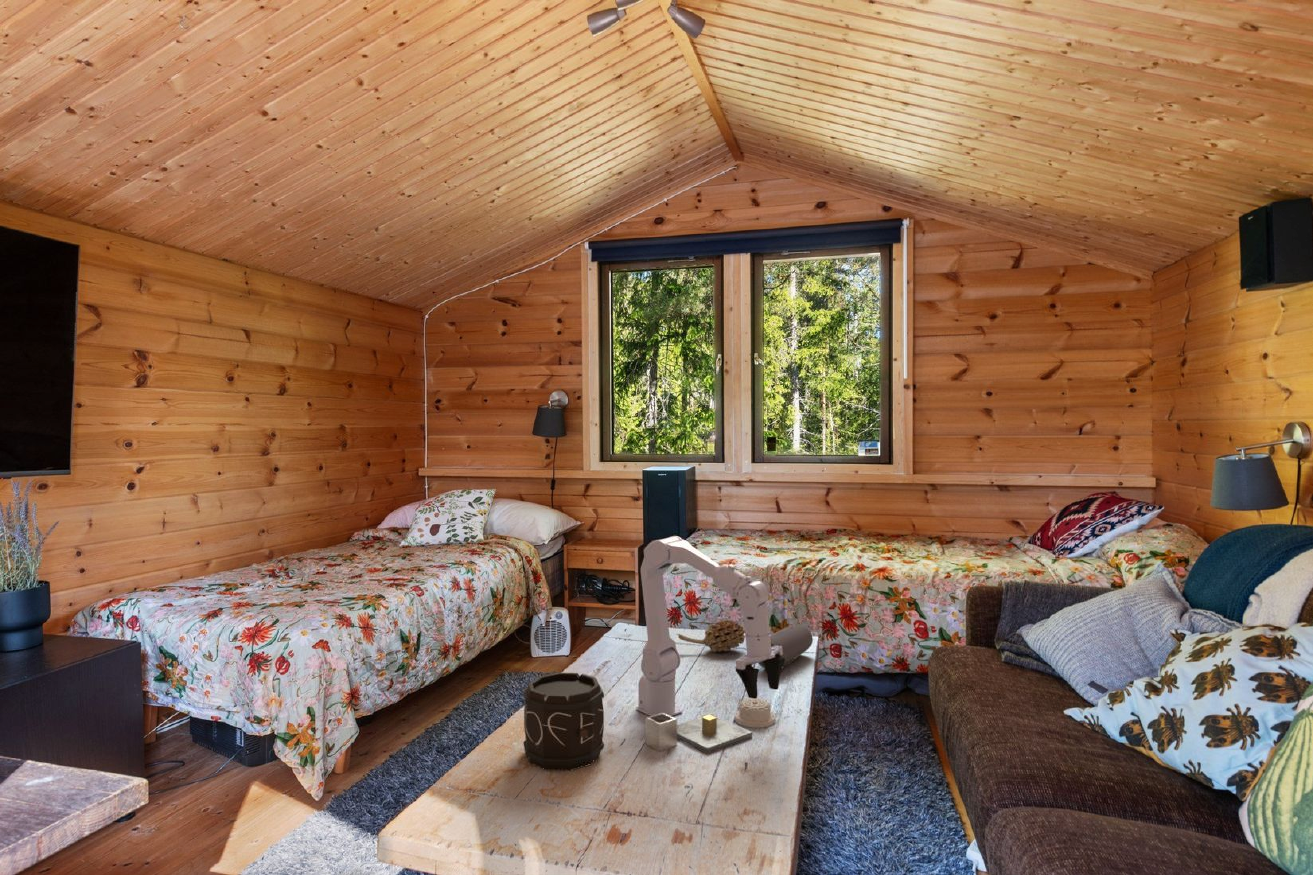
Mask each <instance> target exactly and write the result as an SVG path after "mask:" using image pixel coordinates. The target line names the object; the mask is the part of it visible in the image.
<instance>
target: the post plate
mask: <svg viewBox="0 0 1313 875" xmlns="http://www.w3.org/2000/svg"><path fill="white" fill-rule="evenodd" d="M751 738H753V732H752V731H750V730H748V729H746V728H744V727H742V726H740V725H737V724H735V723H733V722H730V721H728V720H726V719H723V718H722V717H719V716H718V715H717V716H716V715H714V714H712V713H710V714H706V715H704V716H701V717H698V718H694V719H690V720H688V721H685V722H683V723H679V724H677V740H679V741H682V742H683V743H686V745H687V744H688V745H689V746H691V747H693V748H695V749H697V750H699V751H701V752H703V753H705V754H710V753H713V752H716V751H718V750H721V749H724V748H726V747H730V746H732V745H734V744H737V743H741V742H743V741H745V740H749V739H751Z"/></svg>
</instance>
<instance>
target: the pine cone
mask: <svg viewBox="0 0 1313 875" xmlns="http://www.w3.org/2000/svg"><path fill="white" fill-rule="evenodd" d="M676 635H677V637H678V639H680V641H684V642H687V643H693V644H698V645H705V646H706V647H708V648H709V650H710V651H711V652H712V653H716V652H718V653H721V652H722V651H723V652H727V651H729V652H730V651H731V650H732V649H735V648H738V647H740V645H742V644H744V642H745V640H746V639H745V629H744V626H742V624H739V622H738V621H736V622H734V621H733V620H728V619H724V620H722V619H720V620H719V621H716V623H715V624H711V625H709V626H708V628H707V629H705V631H704V635H705V636H704V638H703V639H697V638H691V637H688V636H685V635H683V634H680V633H677V634H676Z"/></svg>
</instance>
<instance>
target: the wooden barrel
mask: <svg viewBox="0 0 1313 875" xmlns="http://www.w3.org/2000/svg"><path fill="white" fill-rule="evenodd" d="M522 696H523V700H524V709H523V719H524V720H523V727H524V729H523V730H524V735H525V740H524V741H523V748H524V753H525V757H526V758H528V759H529V763H530V764H531V763H532V764H531V765H533V764H535V765H534V766H536V765H537V766H536V767H538V766H539V767H538V768H540V769H543V768H544V769H543V770H545V769H546V771H565V770H569V771H572V770H571V769H573V768H577V769H579V768H578V767H580V768H582V767H581V766H584V767H586V766H585V765H588V764H590V765H591V764H592V763H593V762H594V761H595V760H597V759H598V758H599V757H600V756H599V755H600V754H601V752H602V750H603V749H604V747H605V742H604V741H603V739H604V729H605V726H604V725H605V723H604V722H605V721H604V720H605V715H604V714H605V713H604V703H603V698H604V697H605V693H604V690H603V689H602V687H601V684H599V681H598V679H597V677H595V676H591V675H588V674H585V673H582V674H579V673H578V672H555V673H550V674H545V675H540V676H538V677H537V678H535V679H533V680H532V681H531V680H530V682H528V684H527V688H525V689H524V690H523V693H522ZM598 756H599V757H598ZM597 757H598V758H597ZM596 758H597V759H596ZM593 760H594V761H593ZM588 766H589V765H588ZM573 770H574V769H573Z"/></svg>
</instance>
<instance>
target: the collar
mask: <svg viewBox="0 0 1313 875" xmlns="http://www.w3.org/2000/svg"><path fill="white" fill-rule="evenodd" d="M677 725H678V718H676V717H673V716H669V715H667V714H665V713H659V714H656V715H653V716H647V717H645V745H646V746H649V747H650V748H652V749H654V750H656V751H658V752H662V751H664V750H668V749H670V748H674V747H676V746H677V745H678V739H677Z"/></svg>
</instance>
